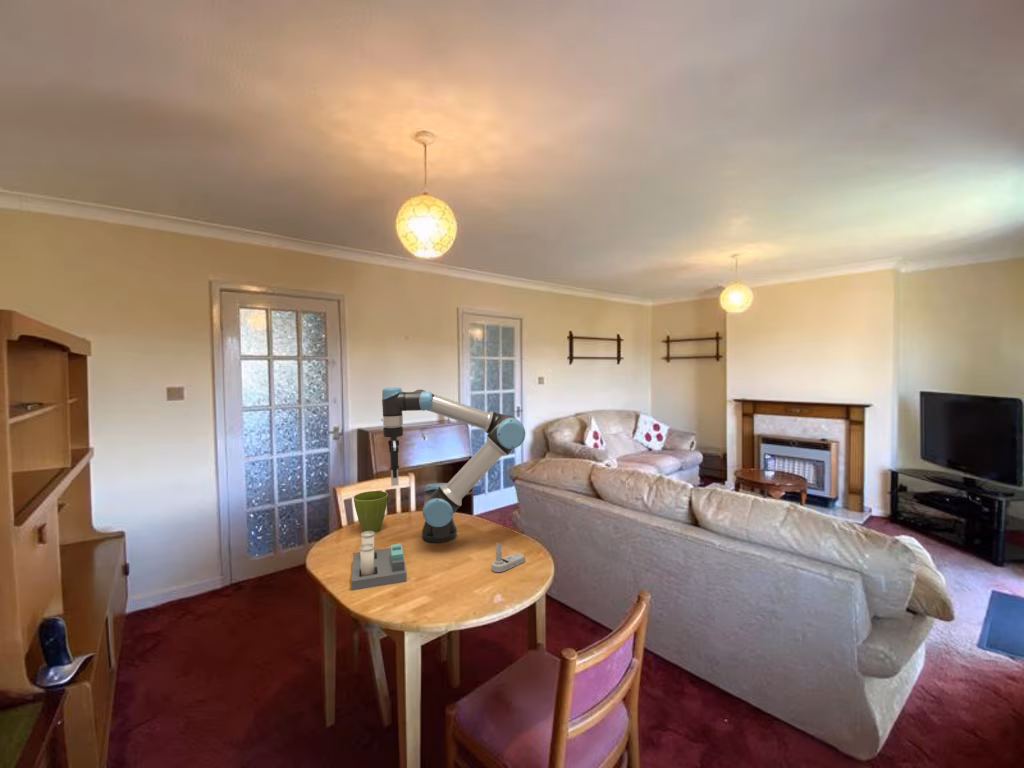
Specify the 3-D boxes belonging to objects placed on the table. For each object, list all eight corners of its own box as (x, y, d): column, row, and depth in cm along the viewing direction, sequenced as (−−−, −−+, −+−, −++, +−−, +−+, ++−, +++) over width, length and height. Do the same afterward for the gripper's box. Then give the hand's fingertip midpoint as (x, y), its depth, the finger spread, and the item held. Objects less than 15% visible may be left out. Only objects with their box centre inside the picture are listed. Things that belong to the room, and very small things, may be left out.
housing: (401, 553, 178) (401, 538, 177) (406, 581, 155) (406, 564, 155) (353, 560, 172) (353, 545, 172) (351, 590, 149) (350, 572, 149)
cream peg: (374, 575, 159) (373, 542, 159) (375, 581, 155) (374, 547, 154) (360, 578, 157) (359, 545, 157) (361, 584, 153) (360, 550, 152)
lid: (401, 553, 170) (401, 541, 170) (403, 564, 160) (403, 551, 160) (390, 555, 168) (390, 542, 168) (392, 566, 159) (391, 553, 159)
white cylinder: (375, 560, 172) (374, 530, 171) (375, 566, 167) (374, 534, 166) (362, 562, 170) (361, 531, 170) (361, 568, 166) (360, 536, 165)
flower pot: (387, 534, 198) (386, 499, 197) (352, 538, 195) (351, 501, 194) (389, 523, 213) (388, 489, 212) (356, 526, 209) (355, 492, 209)
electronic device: (527, 536, 169) (498, 547, 158) (527, 562, 169) (498, 574, 159) (517, 533, 173) (488, 543, 162) (517, 558, 173) (488, 570, 162)
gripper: (382, 424, 182) (384, 482, 183) (383, 429, 170) (386, 490, 171) (401, 423, 185) (403, 480, 186) (404, 427, 172) (406, 488, 173)
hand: (395, 485), depth 178 cm, fingers closed
